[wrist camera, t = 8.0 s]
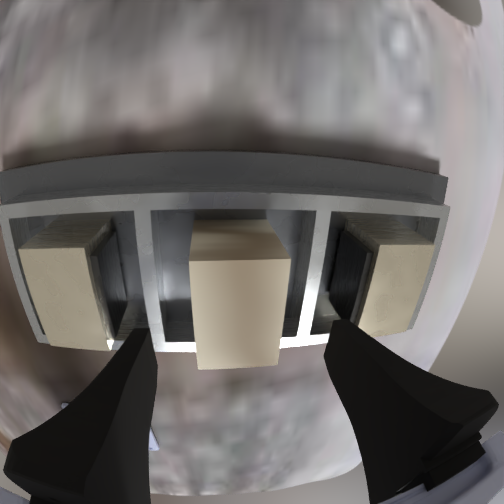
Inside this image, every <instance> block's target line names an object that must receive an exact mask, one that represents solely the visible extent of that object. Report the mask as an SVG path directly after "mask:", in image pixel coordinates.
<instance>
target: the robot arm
mask: <svg viewBox="0 0 504 504" xmlns="http://www.w3.org/2000/svg"><path fill="white" fill-rule="evenodd" d="M324 359H325V363H326V366H327V370H328V373H329V376H330V378H331V380H332V383H333V385H334V387H335V389H336V391H337V393H338V395H339V397H340V400H341V402H342V404H343V406H344V408H345V410H346V412H347V414H348V416H349V419H350V421H351V424H352V427H353V430H354V433H355V436H356V439H357V442H358V446H359V450H360V453H361V457H362V461H363V465H364V470H365V475H366V480H367V486H368V492H369V501H370V504H488V503H489V502H490V501H491V500H492V499H493V498H494V497H495V496H496V495H497V494H498V493H499V492H500V491H501V490H502V488H504V433H503V432H502V430H499V431H498V432H497V433H495V434H494V435H493V436H492V437H490V438H489V439H488V440H487V441H485V442H484V443H483V444H482V445H481V444H480V442H479V440H480V439H481V438H482V436H481V435H480V433H479V431H480V429H482V428H483V426H484V425H485V424H486V423H487V422H488V421H489V420H490V419H491V417H492V416H493V415H494V413H495V412H496V411H497V409H498V405H499V404H498V402H497V401H496V400H495V398H494V397H493V396H492V394H491V393H490V392H489V391H487V390H482V389H477V388H472V387H468V386H464V385H460V384H457V383H454V382H451V381H448V380H445V379H443V378H440V377H438V376H436V375H433V374H431V373H429V372H427V371H425V370H423V369H421V368H419V367H417V366H415V365H413V364H411V363H410V362H408V361H406V360H405V359H403V358H401V357H400V356H398V355H397V354H395V353H394V352H392V351H391V350H389V349H388V348H386V347H385V346H383V345H382V344H381V343H379V342H378V341H376V340H375V339H374V338H372V337H371V336H370V335H368V334H367V333H366V332H364V331H363V330H362V329H360V328H359V327H358V326H356V325H355V324H353V323H352V322H351V321H349V320H348V319H339V320H333V323H332V327H331V331H330V334H329V338H328V342H327V345H326V349H325V353H324ZM157 369H158V365H157V360H156V356H155V351H154V346H153V341H152V337H151V331H150V328H134V329H133V330H132V331H131V333H130V334H129V336H128V337H127V338H126V340H125V341H124V343H123V344H122V345H121V347H120V348H119V349H118V351H117V352H116V353H115V355H114V356H113V357H112V359H111V360H110V361H109V362H108V364H107V365H106V366H105V367H104V369H103V370H102V371H101V372H100V373H99V374H98V376H97V377H96V378H95V379H94V380H93V381H92V382H91V383H90V384H89V386H88V387H87V388H86V389H85V390H84V391H83V392H82V393H81V394H80V395H79V396H77V397H76V398H75V399H74V400H73V401H72V402H71V403H70V404H68V403H62V405H61V407H62V410H61V411H60V412H59V413H57V414H56V415H55V416H53V417H52V418H50V419H49V420H47V421H46V422H44V423H43V424H41V425H40V426H38V427H36V428H35V429H33V430H31V431H29V432H27V433H26V434H24V435H22V436H20V437H18V438H16V439H14V440H12V443H11V445H10V448H9V451H8V455H7V458H6V462H5V465H4V469H3V471H4V473H5V475H6V476H7V477H8V478H9V479H10V480H11V481H13V482H14V483H15V484H17V485H18V486H19V487H21V488H22V489H23V490H25V491H26V492H28V493H29V494H31V499H30V501H29V500H27V499H25V498H23V497H20V496H19V495H17V494H14V493H12V492H10V491H8V490H6V489H4V488H2V487H0V504H151V499H150V486H149V450H159V445H158V443H157V441H156V438H155V436H154V434H153V431H152V429H151V420H152V414H153V407H154V401H155V395H156V389H157Z"/></svg>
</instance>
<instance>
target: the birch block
mask: <svg viewBox="0 0 504 504" xmlns="http://www.w3.org/2000/svg"><path fill="white" fill-rule="evenodd" d="M290 265H291V258H290V256H289V255H288V253H287V251H286V250H285V248H284V246H283V245H282V243H281V241H280V240H279V238H278V236H277V235H276V233H275V231H274V230H273V228H272V227H271V225H270V223H269V222H268V220H267V219H256V220H194V224H193V231H192V239H191V247H190V256H189V273H190V288H191V301H192V313H193V325H194V335H195V345H196V355H197V364H198V370H204V369H230V368H246V367H260V366H271V365H278V358H279V351H280V344H281V337H282V329H283V322H284V314H285V307H286V299H287V290H288V282H289V274H290Z"/></svg>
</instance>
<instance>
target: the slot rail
mask: <svg viewBox="0 0 504 504" xmlns="http://www.w3.org/2000/svg"><path fill="white" fill-rule="evenodd" d="M447 182H448V177H446V176H443V175H440V174H435V173H431V172H426V171H421V170H416V169H410V168H405V167H399V166H393V165H387V164H381V163H375V162H368V161H361V160H353V159H345V158H337V157H328V156H318V155H307V154H295V153H281V152H263V151H236V150H177V151H151V152H134V153H120V154H108V155H98V156H89V157H80V158H72V159H65V160H57V161H51V162H44V163H38V164H33V165H27V166H22V167H17V168H12V169H7V170H4V171H1V172H0V196H1V203H2V204H0V225H1V230H2V234H3V239H4V243H5V247H6V251H7V255H8V259H9V263H10V266H11V270H12V273H13V277H14V280H15V283H16V286H17V289H18V292H19V295H20V298H21V301H22V304H23V307H24V309H25V312H26V315H27V317H28V320H29V322H30V325H31V327H32V329H33V332H34V334H35V336H36V339H37V341H38V342H40V343H47V344H50V345H51V346H59V347H68V348H77V349H88V350H100V351H110V350H118V349H119V348H120V347H121V345H122V344H123V343H124V341H125V340H126V338H127V337H128V336H129V334H130V333H131V331H132V330H133V329H134V328H150V331H151V337H152V341H153V346H154V351H155V352H196V345H195V335H194V325H193V313H192V301H191V288H190V273H189V256H190V247H191V239H192V231H193V224H194V220H256V219H267V220H268V222H269V223H270V225H271V227H272V228H273V230H274V231H275V233H276V235H277V236H278V238H279V240H280V241H281V243H282V245H283V246H284V248H285V250H286V251H287V253H288V255H289V256H290V258H291V265H290V274H289V282H288V290H287V299H286V307H285V314H284V322H283V329H282V337H281V344H280V348H282V347H293V346H303V345H312V344H321V343H327V342H328V338H329V334H330V331H331V327H332V323H333V320H339V319H348V320H349V321H351V322H352V323H353V324H355V325H356V326H358V327H359V328H360V329H362V330H363V331H364V332H366V333H367V334H368V335H370V336H371V337H372V338H373V337H379V336H385V335H390V334H395V333H400V332H405V331H406V330H409V329H412V328H413V326H414V323H415V321H416V318H417V316H418V313H419V311H420V308H421V306H422V303H423V300H424V297H425V295H426V292H427V289H428V286H429V283H430V280H431V277H432V274H433V271H434V268H435V265H436V261H437V258H438V254H439V251H440V247H441V244H442V240H443V236H444V232H445V228H446V224H447V220H448V216H449V211H450V207H449V206H447V205H445V204H444V199H445V194H446V188H447Z"/></svg>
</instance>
